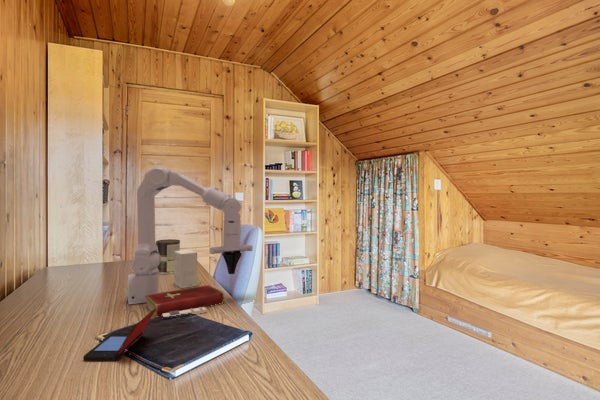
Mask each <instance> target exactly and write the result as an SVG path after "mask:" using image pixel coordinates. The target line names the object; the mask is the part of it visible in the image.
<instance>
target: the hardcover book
mask: <svg viewBox="0 0 600 400" xmlns="http://www.w3.org/2000/svg"><path fill="white" fill-rule="evenodd" d="M145 297H146V298H147V302H146V308H147V309H149V310H150V312H151V311H152V310H154V309H156V311H155V313H154V315H153V316H154V317H155V318H158V317H157V316H161V315H162V314H163V313H169V311H176V310H178V311H179V310H188V309H190V308H192V309H195V308H199V307H205V308H207V307H206V306H209V307H212V306H211V305H214V306H216V305H215V304H219V303H222V302H224V303H225V293H224V291H222V290H220V289H219V288H216V287H213V286H212V285H210V284H207V285H206V284H205V285H201V286H199V285H198V286H193V287H187V288H179V289H176V290H170V291H169V290H168V291H163V292H158V293H156V294H150V295H145ZM219 305H220V304H219ZM149 310H148V311H149ZM161 317H162V316H161Z"/></svg>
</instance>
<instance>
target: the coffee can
mask: <svg viewBox="0 0 600 400" xmlns="http://www.w3.org/2000/svg"><path fill="white" fill-rule="evenodd" d="M155 243H156V245H157V247H158V252H159V254H160V256H161V262H160V264H159V265H158V266H157V268H158V270H159V275H171V274H174V251H181V250H180V249H181V248H180V246H181V244H180V243H181V240H180V239H176V238H175V239H172V238H171V239H167V238H165V239H159V240H155Z"/></svg>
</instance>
